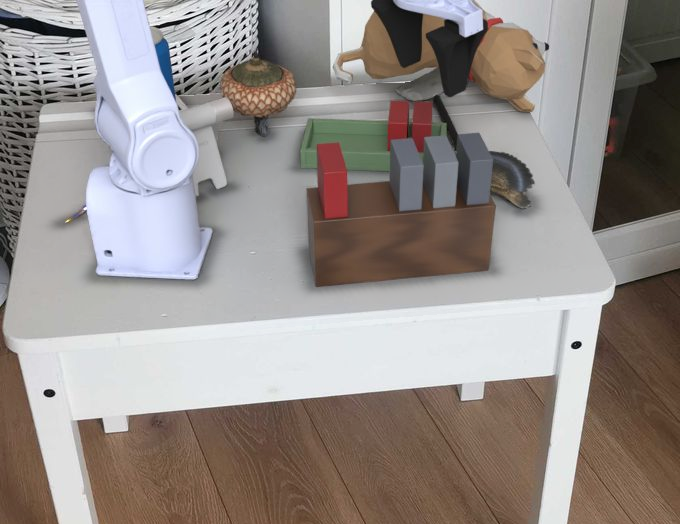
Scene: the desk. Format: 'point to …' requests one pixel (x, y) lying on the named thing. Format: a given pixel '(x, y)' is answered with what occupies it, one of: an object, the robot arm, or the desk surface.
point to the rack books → (400, 122)
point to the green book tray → (354, 142)
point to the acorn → (258, 90)
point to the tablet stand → (208, 139)
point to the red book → (332, 180)
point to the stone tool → (423, 87)
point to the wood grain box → (396, 237)
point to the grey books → (440, 171)
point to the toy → (487, 67)
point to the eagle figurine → (510, 178)
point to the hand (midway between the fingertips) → (432, 77)
